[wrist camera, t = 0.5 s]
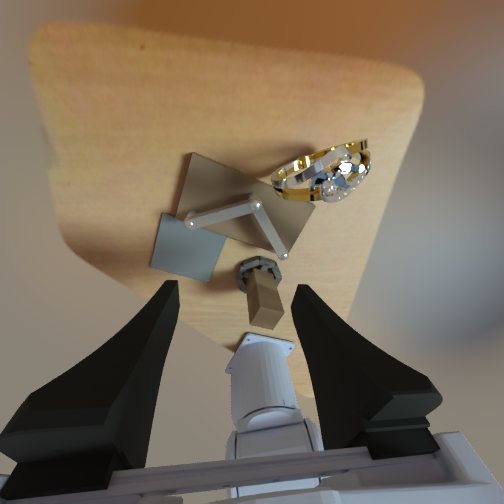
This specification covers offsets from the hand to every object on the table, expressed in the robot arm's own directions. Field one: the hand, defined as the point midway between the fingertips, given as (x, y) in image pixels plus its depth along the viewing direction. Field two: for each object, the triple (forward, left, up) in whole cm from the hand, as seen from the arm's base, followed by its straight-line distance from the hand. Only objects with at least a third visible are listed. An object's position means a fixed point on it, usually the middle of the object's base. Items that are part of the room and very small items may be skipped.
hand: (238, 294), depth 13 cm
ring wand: (-5, -5, -10) cm, 12 cm away
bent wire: (+2, 0, -10) cm, 11 cm away
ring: (+8, -3, -11) cm, 14 cm away
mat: (-4, +4, -10) cm, 12 cm away
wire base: (+2, 0, -10) cm, 11 cm away
